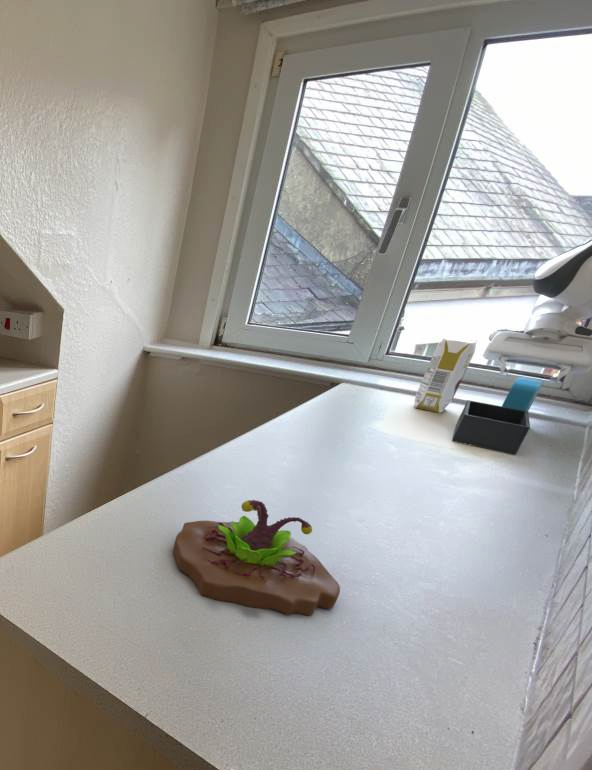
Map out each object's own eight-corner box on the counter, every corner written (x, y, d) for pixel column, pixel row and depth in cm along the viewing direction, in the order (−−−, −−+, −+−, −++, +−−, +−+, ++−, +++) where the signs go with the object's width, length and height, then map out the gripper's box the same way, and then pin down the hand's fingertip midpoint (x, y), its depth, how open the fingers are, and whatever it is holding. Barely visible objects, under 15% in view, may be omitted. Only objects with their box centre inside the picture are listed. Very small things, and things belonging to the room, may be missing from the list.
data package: (498, 419, 145) (520, 375, 140) (521, 424, 142) (545, 379, 137) (490, 428, 138) (513, 382, 133) (514, 434, 135) (538, 387, 130)
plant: (158, 527, 88) (173, 463, 83) (284, 537, 86) (307, 474, 81) (195, 607, 70) (217, 533, 65) (354, 623, 68) (390, 548, 63)
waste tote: (514, 437, 133) (528, 411, 131) (515, 455, 123) (530, 427, 120) (455, 424, 140) (467, 400, 137) (451, 440, 129) (464, 414, 126)
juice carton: (409, 407, 152) (439, 338, 144) (415, 401, 158) (444, 334, 149) (443, 414, 147) (476, 343, 139) (449, 408, 153) (480, 340, 144)
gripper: (497, 320, 145) (478, 362, 143) (608, 333, 133) (590, 379, 131) (489, 334, 150) (471, 375, 148) (596, 348, 138) (578, 393, 136)
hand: (528, 377), depth 139 cm, fingers open, 8 cm apart
